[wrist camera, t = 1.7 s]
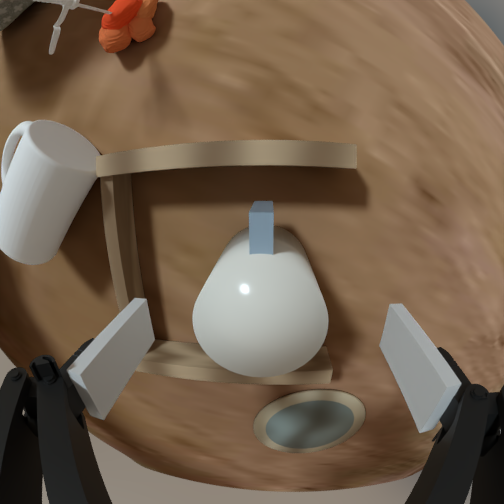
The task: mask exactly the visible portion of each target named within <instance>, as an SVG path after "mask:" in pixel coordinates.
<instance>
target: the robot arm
mask: <svg viewBox="0 0 504 504" xmlns="http://www.w3.org/2000/svg"><path fill="white" fill-rule="evenodd" d="M154 341H155V338H154V333H153V328H152V324H151V319H150V314H149V309H148V303H147V299H142V298H134V299H133V300H132V301H131V302H130V303H129V304H128V305H127V306H126V307H125V308H124V309H123V310H122V311H121V312H120V313H119V314H118V315H117V316H116V317H115V318H114V320H113V321H112V322H111V323H110V324H109V325H108V326H107V327H106V328H105V329H104V330H103V331H102V332H101V333H100V334H99V335H98V336H97V337H96V338H95V339H94V338H92V339H90V340H88V341H87V342H85V343H84V344H83V345H82V346H81V347H80V348H79V349H78V350H77V351H76V352H75V353H74V355H72V356H71V357H70V358H69V359H68V361H67V362H66V363H65V364H64V365H63V366H62V367H61V368H60V369H59V368H58V366H57V364H56V361H55V359H54V358H53V357H52V356H50V355H41V356H39V357H37V358H35V359H34V360H33V361H32V362H31V363H30V366H29V367H30V369H31V371H32V373H33V375H34V377H29V375H28V374H27V372H26V370H25V369H24V368H21V367H18V368H14V369H12V370H11V371H9V372H8V374H7V375H6V377H5V379H4V381H3V384H2V386H1V388H0V504H42V478H43V476H44V481H45V486H46V491H47V496H48V500H49V504H112V502H111V500H110V497H109V495H108V492H107V490H106V487H105V485H104V482H103V479H102V476H101V474H100V471H99V468H98V465H97V461H96V458H95V455H94V452H93V449H92V445H91V441H90V437H89V433H88V429H87V425H86V421H85V417H84V415H83V413H82V411H83V410H84V408H85V407H86V409H87V410H88V412H89V414H90V416H93V417H96V418H99V419H101V420H104V419H105V418H106V416H107V414H108V413H109V411H110V410H111V408H112V406H113V405H114V403H115V401H116V400H117V398H118V397H119V395H120V393H121V392H122V390H123V389H124V387H125V386H126V384H127V382H128V381H129V379H130V378H131V376H132V375H133V373H134V371H135V370H136V368H137V367H138V365H139V364H140V362H141V361H142V359H143V357H144V356H145V354H146V353H147V351H148V350H149V348H150V347H151V345H152V344H153V342H154ZM379 346H380V348H381V350H382V352H383V354H384V356H385V358H386V360H387V362H388V364H389V366H390V368H391V370H392V372H393V375H394V377H395V379H396V381H397V383H398V385H399V387H400V389H401V392H402V394H403V396H404V398H405V401H406V403H407V405H408V407H409V410H410V412H411V414H412V417H413V419H414V421H415V424H416V426H417V428H418V431H419V433H421V432H425V431H428V430H432V429H434V428H435V426H436V425H437V423H438V422H439V420H440V422H441V424H442V427H441V429H440V430H439V431H438V433H437V434H436V436H435V437H434V438H433V440H432V441H435V439H436V441H435V443H434V446H433V448H432V450H431V453H430V455H429V457H428V460H427V462H426V464H425V466H424V468H423V470H422V473H421V475H420V477H419V479H418V481H417V482H416V484H415V486H414V488H413V490H412V492H411V494H410V496H409V497H408V499H407V501H406V502H405V504H464V503H465V500H466V497H467V495H468V492H469V489H470V486H471V483H472V480H473V483H472V492H471V499H470V504H504V385H503V387H502V389H501V390H500V392H494V393H489V392H488V390H487V389H486V388H485V387H483V386H481V385H479V384H471V383H470V381H469V380H468V378H467V377H466V376H465V374H464V373H463V371H462V370H461V369H460V367H459V366H457V363H456V362H455V361H454V359H453V358H452V356H451V355H450V354H449V353H448V352H447V351H446V350H444V349H443V348H441V347H439V348H436V347H435V345H434V344H433V343H432V341H431V340H430V339H429V337H428V336H427V335H426V333H425V332H424V331H423V330H422V328H421V327H420V326H419V324H418V323H417V322H416V321H415V319H414V318H413V317H412V316H411V314H410V313H409V312H408V311H407V309H406V308H405V307H404V306H403V305H402V304H390V305H389V310H388V314H387V318H386V322H385V326H384V330H383V334H382V338H381V342H380V345H379ZM23 410H24V411H25V414H24V416H23V415H22V412H23ZM500 429H501V434H500Z"/></svg>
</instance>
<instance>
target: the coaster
mask: <svg viewBox="0 0 504 504" xmlns="http://www.w3.org/2000/svg"><path fill="white" fill-rule="evenodd" d="M365 415H366V413H365V408H364V405H363V403H362V402H361V401H360V400H359V399H358V398H357V397H356V396H354V395H352V394H350V393H348V392H344V391H340V390H333V389H314V390H306V391H301V392H296V393H292V394H289V395H286V396H283V397H281V398H278V399H276V400H274V401H273V402H271V403H269V404H268V405H266V406H265V407H264V408H263V409H261V411H260V412H259V413H258V414H257V416H256V417H255V420H254V426H253V429H254V433H255V436H256V437H257V439H258V440H259V441H260V442H262V443H263V444H264V445H266V446H268V447H270V448H272V449H275V450H278V451H283V452H289V453H310V452H316V451H321V450H325V449H328V448H331V447H334V446H336V445H338V444H340V443H342V442H344V441H346V440H347V439H349V438H350V437H352V436H353V435H354V434H355V433H356V432H357V431H358V430H359V429H360V427H361V426H362V424H363V423H364V420H365Z"/></svg>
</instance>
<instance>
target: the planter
mask: <svg viewBox="0 0 504 504" xmlns="http://www.w3.org/2000/svg"><path fill="white" fill-rule="evenodd" d="M34 2H35V1H33V0H0V31H2V30H3V29H4V28H6V27H7V26H8V25H9V24H11V23H12V22H13V21H14V20H15V19H16V18H17V17H18V16H19V15H20V14H21V13H22V12H23V11H24V10H26V9H27V8H28V7H29V6H30V5H31V4H33V3H34Z"/></svg>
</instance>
